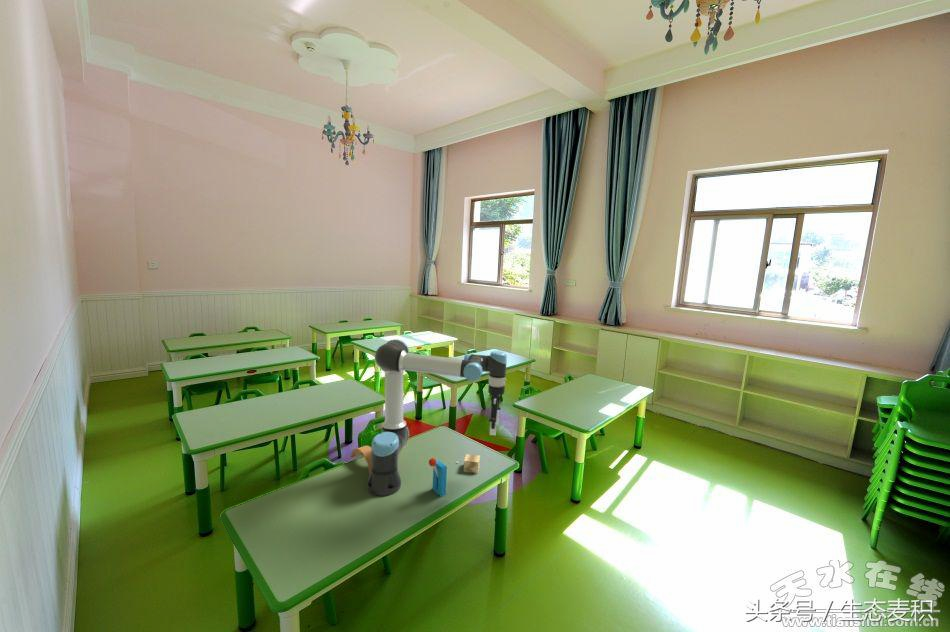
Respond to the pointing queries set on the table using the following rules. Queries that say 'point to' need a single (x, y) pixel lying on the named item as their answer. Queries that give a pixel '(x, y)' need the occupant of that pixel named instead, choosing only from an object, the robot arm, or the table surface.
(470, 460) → the oak block
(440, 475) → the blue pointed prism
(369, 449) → the arch
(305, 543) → the table surface
